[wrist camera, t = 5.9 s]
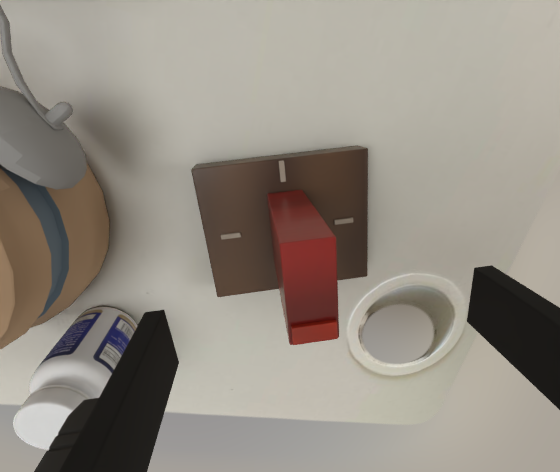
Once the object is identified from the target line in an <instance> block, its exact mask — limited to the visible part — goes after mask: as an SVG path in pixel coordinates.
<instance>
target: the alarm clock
mask: <svg viewBox="0 0 560 472" xmlns="http://www.w3.org/2000/svg"><path fill="white" fill-rule="evenodd" d="M0 35H1V44H2V54H3V56H4V58H5V61H6V63H7V65H8V67H9V70H10V72H11V74H12V76H13V79H14V81H15V83H16V85H17V86H18V88H19V89H20V90H21V92H22V93H23V94H24V95H23V94H21V93H19V92H18V91H14V90H11V89H7V88H4V87H0V349H2V348H3V347H5V346H6V345H8V344H9V343H11V342H13V341H14V340H16V339H17V338H19V337H20V336H22V335H23V334H25V333H26V332H27V331H28V329H29V328H30V327H34V326H37V325H40V324H42V323H44V322H46V321H48V320H49V319H51V318H52V317H54V316H55V315H57V314H58V313H60V312H62V311H63V310H65V309H66V308H68V307H69V306H70V305H71V304H72V303H73V302H74V301H75V300H76V299H77V298H78V297H79V295H80V294H81V293H82V292H83V291H84V290H85V289H86V287H87V286H88V285H89V284H90V283H91V281H92V280H93V279H94V278H95V277H96V275H97V274H98V273H99V272H100V269H101V266H102V264H103V261H104V258H105V256H106V253H107V251H108V246H109V224H110V220H109V216H108V212H107V208H106V204H105V200H104V196H103V192H102V190H101V188H100V186H99V184H98V182H97V181H96V179H95V177H94V175H93V173H92V171H91V169H90V168H89V166H88V164H87V162H86V157H85V153H84V151H83V149H82V147H81V145H80V143H79V141H78V140H77V138H76V137H75V136H74V134H73V133H72V132H71V131H70V130H69V128H68V127H67V126H66V125H65V124H64V123H63V122H64V121H65V120H66V119H67V118H69V117H70V116H71V115H72V113H73V108H72V106H71V105H70V104H69V103H66V102H60V103H58V104H57V105H55V106H54V107H53V108H52V109H51V110H50V111H49V110H48V109H47V108H45V107H44V106H42V105H41V104H40V103H38V102H37V101H36V99H35V98H34V96H33V95H32V93H31V91H30V90H29V88H28V86H27V85H26V83H25V82H24V79H23V77H22V75H21V73H20V70H19V68H18V66H17V63H16V61H15V59H14V56H13V54H12V48H11V36H10V24H9V21H8V19H7V17H6V15H5V13H4V11H3V10H2V8H1V6H0Z"/></svg>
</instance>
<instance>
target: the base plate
mask: <svg viewBox="0 0 560 472" xmlns="http://www.w3.org/2000/svg"><path fill="white" fill-rule="evenodd" d="M191 171H192V176H193V180H194V185H195V190H196V195H197V200H198V205H199V209H200V214H201V219H202V224H203V229H204V234H205V238H206V243H207V248H208V253H209V258H210V263H211V267H212V272H213V277H214V282H215V287H216V292H217V296H218V297H223V296H230V295H237V294H244V293H251V292H258V291H265V290H272V289H279V285H278V279H277V274H276V269H275V263H274V254H273V245H272V236H271V227H270V218H269V209H268V200H267V194H269V193H278V192H286V191H295V190H302V191H303V192H304V193H305V195H306V196H307V197H308V199H309V200H310V202H311V203H312V204H313V206H314V207H315V209H316V210H317V211H318V213H319V214H320V216H321V217H322V218H323V220H324V221H325V223H326V224H327V225H328V227H329V228H330V229H331V231H332V232H333V234H334V235H335V236H336V251H337V280H343V279H350V278H358V277H365V276H367V207H368V149H367V148H364V147H361V146H350V147H342V148H333V149H324V150H316V151H307V152H299V153H290V154H282V155H273V156H265V157H256V158H248V159H239V160H231V161H222V162H214V163H205V164H197V165H195V166H194V167H193V168H192V170H191Z"/></svg>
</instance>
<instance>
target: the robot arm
mask: <svg viewBox="0 0 560 472" xmlns="http://www.w3.org/2000/svg"><path fill="white" fill-rule="evenodd" d="M467 322H468V323H469V324H470V325H471V326H472V327H473V328H474V329H475V330H476V331H478V332H479V333H480V334H481V335H482V336H483V337H484V338H485V339H486V340H487V341H488V342H489V343H490V344H491V345H492V346H493V347H494V348H495V349H497V351H498V352H500V353H501V354H502V355H503V356H504V357H505V358H506V359H507V360H508V361H509V362H510V363H511V364H512V365H513V366H514V367H515V368H516V369H518V371H520V372H521V373H522V374H523V375H524V376H525V377H526V378H527V379H528V380H529V381H530V382H531V383H532V384H533V385H534V386H535V387H536V388H537V389H538V390H539V391H540V392H542V393H543V394H544V395H545V396H546V397H547V398H548V399H549V400H550V401H551V402H552V403H553V404H554V405H555V406H556V407H557V408H558V409H559V410H560V308H559V307H557V306H556V305H554V304H553V303H551V302H549V301H548V300H546V299H544V298H543V297H541V296H540V295H538V294H536V293H535V292H533V291H532V290H530V289H529V288H527V287H525V286H524V285H522V284H520V283H519V282H517V281H516V280H514V279H512V278H510V277H509V276H508V275H506V274H504V273H503V272H501V271H500V270H498V269H496V268H495V267H493V266H485V267H478V268H474V275H473V282H472V289H471V296H470V303H469V310H468V318H467ZM178 364H179V361H178V358H177V354H176V351H175V347H174V344H173V340H172V336H171V333H170V329H169V326H168V322H167V319H166V315H165V312H164V310H160V311H152V312H145V313H144V315H143V317H142V319H141V321H140V323H139V325H138V326H137V328H136V330H135V332H134V334H133V336H132V338H131V339H130V341H129V343H128V345H127V347H126V349H125V351H124V352H123V354H122V356H121V358H120V360H119V362H118V363H117V365H116V367H115V369H114V371H113V373H112V375H111V376H110V378H109V380H108V382H107V384H106V386H105V388H104V389H103V391H102V393H101V395H100V397H99V398H93V399H87V400H83V401H82V402H81V403H80V404H79V405H78V406H77V407H76V408H75V409H74V410H73V411H72V412H71V413H70V414H69V415H68V417H67V419H66V420H65V422H64V424H63V425H62V427H61V429H60V430H59V432H58V436H56V437H55V438H54V440H53V442H52V443H51V445H50V447H49V451H47V452H46V453H45V455H44V456H43V458H42V460H41V461H40V463H39V465H38V466H37V468H36V470H35V471H34V472H147V469H148V466H149V463H150V459H151V456H152V452H153V449H154V446H155V442H156V439H157V435H158V432H159V428H160V425H161V421H162V418H163V415H164V411H165V408H166V405H167V401H168V398H169V394H170V391H171V388H172V384H173V381H174V377H175V374H176V371H177V367H178Z"/></svg>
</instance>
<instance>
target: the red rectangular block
mask: <svg viewBox="0 0 560 472" xmlns="http://www.w3.org/2000/svg"><path fill="white" fill-rule="evenodd" d="M267 200H268V209H269V218H270V227H271V236H272V245H273V254H274V263H275V269H276V274H277V279H278V285H279V290H280V295H281V301H282V306H283V312H284V317H285V322H286V328H287V333H288V338H289V343H290V345H297V344H304V343H311V342H318V341H325V340H332V339H337V338H338V337H339V322H338V286H337V251H336V236H335V235H334V234H333V232H332V231H331V229H330V228H329V227H328V225H327V224H326V223H325V221H324V220H323V218H322V217H321V216H320V214H319V213H318V211H317V210H316V209H315V207H314V206H313V204H312V203H311V202H310V200H309V199H308V197H307V196H306V195H305V193H304V192H303V191H302V190H295V191H286V192H278V193H269V194H267Z"/></svg>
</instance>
